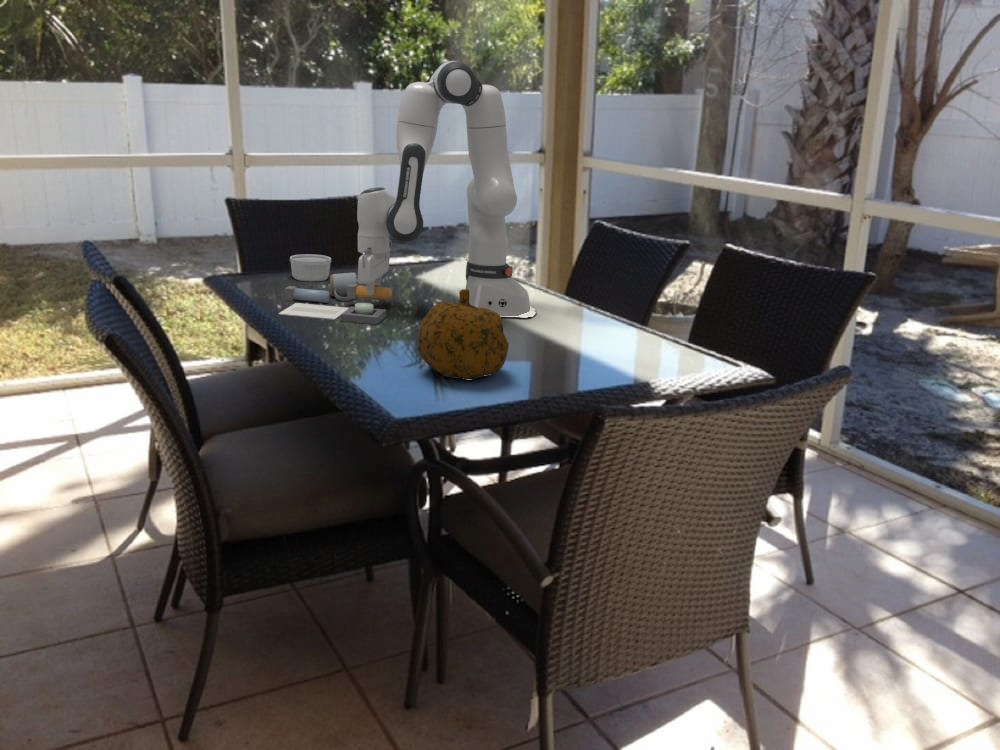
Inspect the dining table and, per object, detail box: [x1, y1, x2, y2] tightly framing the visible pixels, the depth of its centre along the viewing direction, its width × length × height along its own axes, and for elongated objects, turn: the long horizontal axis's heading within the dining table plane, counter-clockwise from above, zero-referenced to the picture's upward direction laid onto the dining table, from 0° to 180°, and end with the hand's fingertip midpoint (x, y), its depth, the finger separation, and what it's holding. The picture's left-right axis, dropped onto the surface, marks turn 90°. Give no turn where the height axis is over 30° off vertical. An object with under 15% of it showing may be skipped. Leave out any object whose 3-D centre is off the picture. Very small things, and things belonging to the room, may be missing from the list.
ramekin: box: [289, 253, 332, 282], centre depth 308 cm, size 13×13×7 cm
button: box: [354, 302, 374, 315], centre depth 260 cm, size 5×5×2 cm
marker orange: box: [347, 283, 393, 301], centre depth 273 cm, size 12×4×4 cm, turn 82°
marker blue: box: [284, 285, 331, 304], centre depth 277 cm, size 12×4×4 cm, turn 82°
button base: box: [340, 306, 387, 325], centre depth 260 cm, size 10×10×2 cm
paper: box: [278, 302, 350, 321], centre depth 265 cm, size 16×14×1 cm
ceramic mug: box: [329, 272, 358, 302], centre depth 283 cm, size 10×8×7 cm
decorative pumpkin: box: [417, 288, 510, 380], centre depth 214 cm, size 20×21×20 cm
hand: (373, 293), depth 273 cm, fingers closed on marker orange, 3 cm apart
